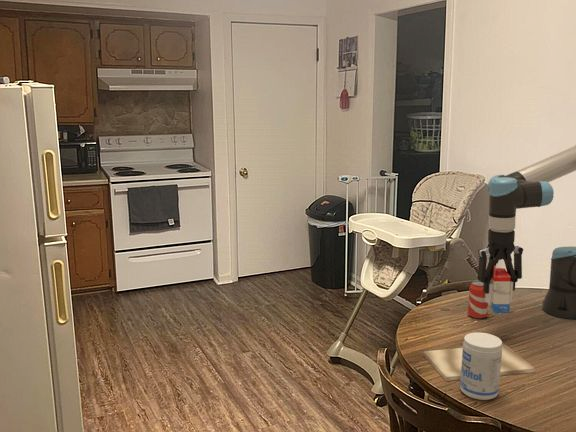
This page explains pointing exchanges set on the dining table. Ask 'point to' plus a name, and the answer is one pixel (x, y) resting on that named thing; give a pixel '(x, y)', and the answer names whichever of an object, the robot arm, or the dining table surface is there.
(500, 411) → the dining table surface
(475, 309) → the beverage can
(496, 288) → the ink box
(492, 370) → the supplement tub
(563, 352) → the dining table surface
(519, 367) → the open book
